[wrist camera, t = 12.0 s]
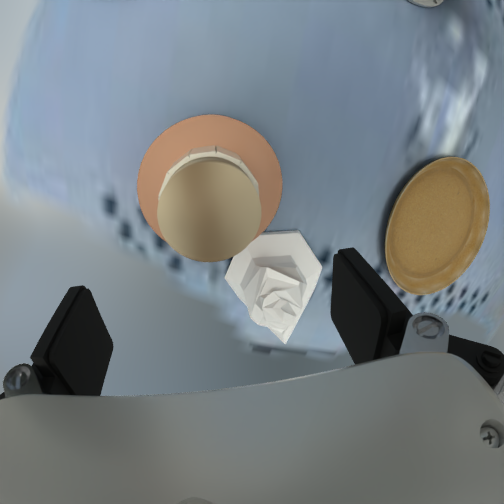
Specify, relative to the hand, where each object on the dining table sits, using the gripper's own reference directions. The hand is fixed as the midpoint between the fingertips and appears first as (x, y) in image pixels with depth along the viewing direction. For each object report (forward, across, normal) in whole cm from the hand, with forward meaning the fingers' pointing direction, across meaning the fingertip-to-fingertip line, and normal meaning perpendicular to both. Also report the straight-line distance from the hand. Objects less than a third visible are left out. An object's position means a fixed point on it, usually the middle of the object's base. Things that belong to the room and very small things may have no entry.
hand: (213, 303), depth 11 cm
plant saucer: (+29, -35, +12) cm, 47 cm away
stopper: (+17, 0, 0) cm, 17 cm away
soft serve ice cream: (+28, -6, +16) cm, 33 cm away
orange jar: (+28, 0, 0) cm, 28 cm away
